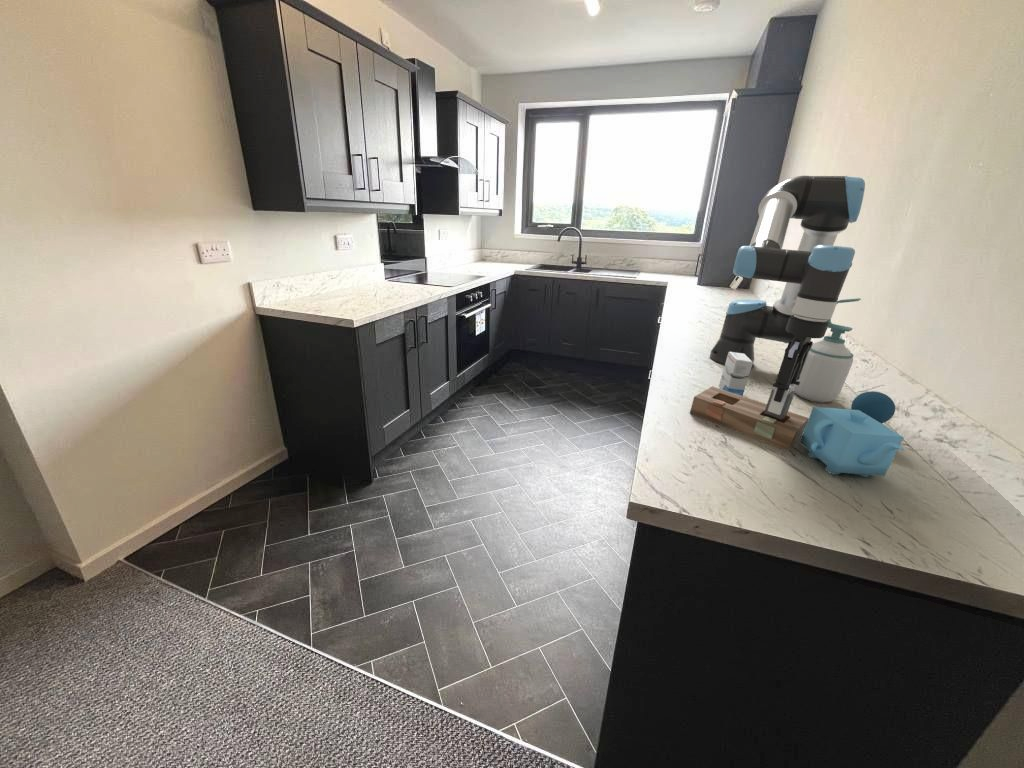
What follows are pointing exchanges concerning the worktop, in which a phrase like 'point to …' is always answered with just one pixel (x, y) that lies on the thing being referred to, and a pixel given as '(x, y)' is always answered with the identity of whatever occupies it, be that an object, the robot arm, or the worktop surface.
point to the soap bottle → (826, 366)
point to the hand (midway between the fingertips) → (777, 409)
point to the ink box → (735, 373)
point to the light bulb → (875, 405)
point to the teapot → (850, 441)
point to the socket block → (748, 417)
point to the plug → (786, 404)
